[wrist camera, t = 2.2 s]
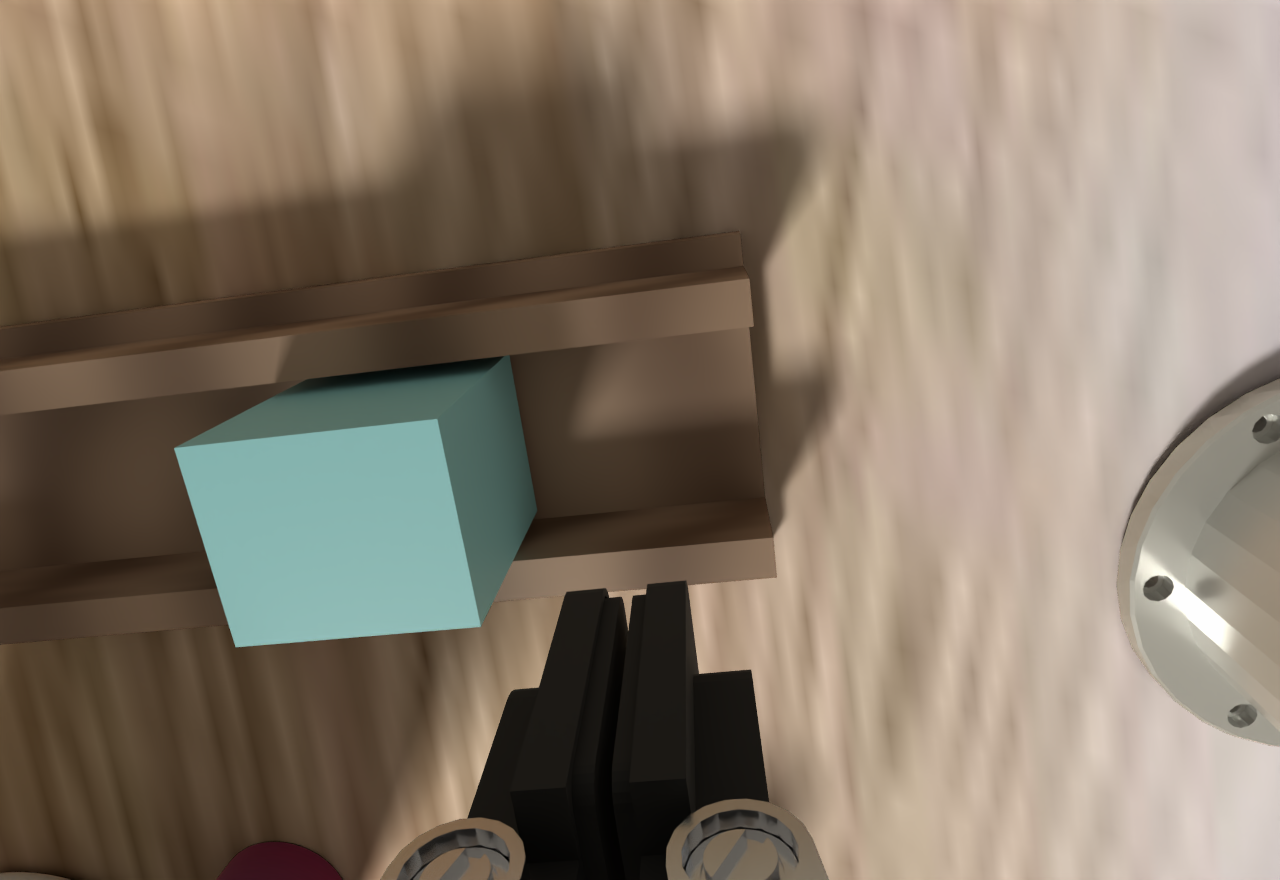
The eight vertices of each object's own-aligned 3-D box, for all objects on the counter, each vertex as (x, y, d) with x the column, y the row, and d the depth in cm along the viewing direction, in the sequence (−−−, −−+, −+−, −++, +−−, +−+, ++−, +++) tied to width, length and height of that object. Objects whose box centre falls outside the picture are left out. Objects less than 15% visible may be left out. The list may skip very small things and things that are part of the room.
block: (508, 352, 24) (437, 418, 18) (537, 510, 26) (480, 626, 19) (313, 375, 25) (174, 447, 18) (352, 528, 26) (235, 647, 20)
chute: (738, 230, 24) (747, 243, 20) (768, 546, 27) (781, 615, 23) (-184, 350, 27) (-349, 383, 23) (-69, 621, 30) (-196, 695, 26)
